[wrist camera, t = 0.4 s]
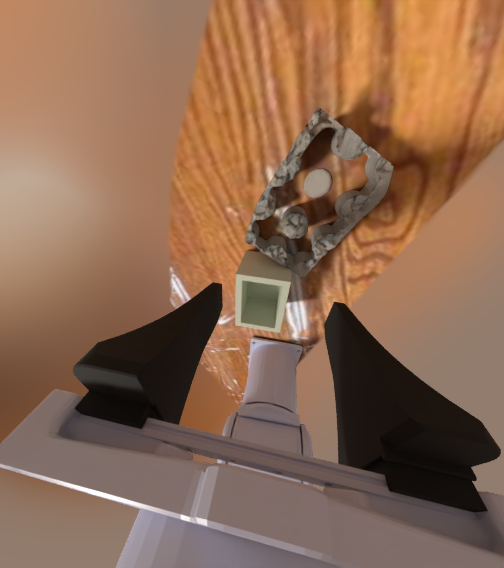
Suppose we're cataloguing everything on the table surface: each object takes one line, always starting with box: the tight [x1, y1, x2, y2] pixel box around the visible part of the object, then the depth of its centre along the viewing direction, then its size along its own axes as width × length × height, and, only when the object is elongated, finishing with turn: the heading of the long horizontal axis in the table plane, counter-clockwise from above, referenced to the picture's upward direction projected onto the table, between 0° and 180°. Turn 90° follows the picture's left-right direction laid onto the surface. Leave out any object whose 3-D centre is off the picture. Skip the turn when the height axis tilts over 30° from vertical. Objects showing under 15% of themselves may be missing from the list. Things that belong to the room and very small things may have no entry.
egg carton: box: [245, 108, 394, 278], centre depth 16 cm, size 11×8×4 cm
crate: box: [235, 250, 291, 333], centre depth 21 cm, size 7×5×5 cm
